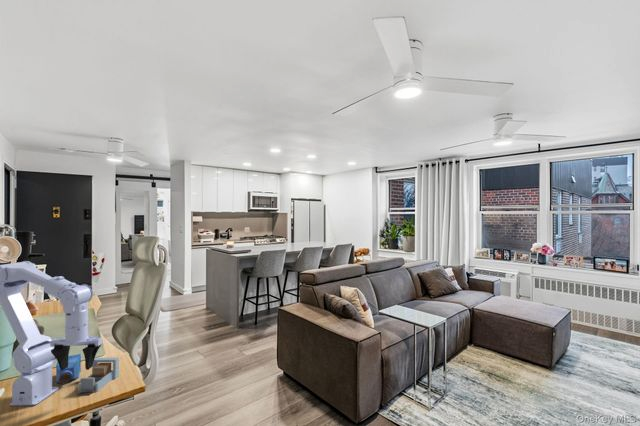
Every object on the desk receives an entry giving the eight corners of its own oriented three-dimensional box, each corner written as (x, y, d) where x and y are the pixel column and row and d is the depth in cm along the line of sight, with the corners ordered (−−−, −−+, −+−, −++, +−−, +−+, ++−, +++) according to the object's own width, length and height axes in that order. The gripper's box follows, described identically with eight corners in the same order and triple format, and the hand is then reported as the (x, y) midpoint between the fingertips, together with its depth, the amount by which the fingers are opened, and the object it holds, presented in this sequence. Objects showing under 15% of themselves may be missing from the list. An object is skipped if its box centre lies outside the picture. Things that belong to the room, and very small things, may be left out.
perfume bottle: (80, 353, 118) (76, 367, 108) (80, 370, 118) (76, 385, 108) (59, 357, 115) (53, 371, 105) (59, 374, 115) (53, 390, 105)
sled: (93, 390, 104) (93, 378, 104) (80, 391, 104) (80, 378, 104) (112, 375, 114) (112, 364, 114) (101, 375, 114) (101, 364, 114)
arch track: (96, 394, 102) (96, 374, 102) (70, 395, 102) (71, 374, 102) (125, 370, 118) (125, 352, 118) (103, 370, 118) (103, 352, 118)
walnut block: (104, 379, 109) (104, 368, 109) (92, 379, 109) (92, 368, 109) (111, 373, 113) (111, 362, 113) (99, 374, 113) (99, 362, 113)
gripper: (108, 320, 104) (108, 362, 104) (62, 321, 103) (62, 362, 103) (93, 328, 97) (93, 372, 97) (44, 329, 96) (44, 373, 96)
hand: (76, 368), depth 100 cm, fingers open, 7 cm apart
